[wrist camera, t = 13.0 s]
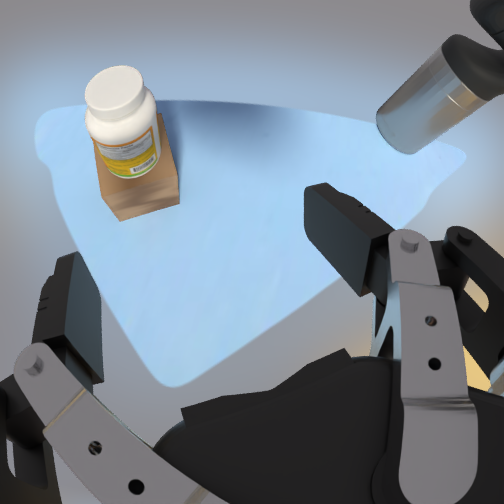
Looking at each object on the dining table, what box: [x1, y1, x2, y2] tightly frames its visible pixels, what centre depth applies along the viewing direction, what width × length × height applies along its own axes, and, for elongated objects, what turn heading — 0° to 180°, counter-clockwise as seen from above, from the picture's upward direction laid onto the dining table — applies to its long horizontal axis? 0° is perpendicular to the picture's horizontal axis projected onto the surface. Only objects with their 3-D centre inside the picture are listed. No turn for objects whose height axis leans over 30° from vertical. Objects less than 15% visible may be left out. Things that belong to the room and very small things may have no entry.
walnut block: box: [93, 113, 179, 222], centre depth 29 cm, size 7×7×8 cm
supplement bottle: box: [85, 65, 161, 179], centre depth 21 cm, size 5×5×10 cm
